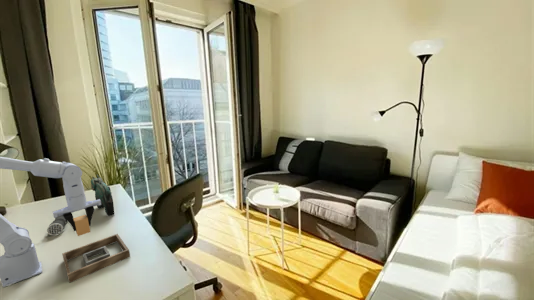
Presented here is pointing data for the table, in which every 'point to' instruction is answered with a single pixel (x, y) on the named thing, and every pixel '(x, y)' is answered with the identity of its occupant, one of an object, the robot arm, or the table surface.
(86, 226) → the block
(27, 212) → the table surface
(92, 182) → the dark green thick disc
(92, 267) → the walled box
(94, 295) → the table surface
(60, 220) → the flashlight
